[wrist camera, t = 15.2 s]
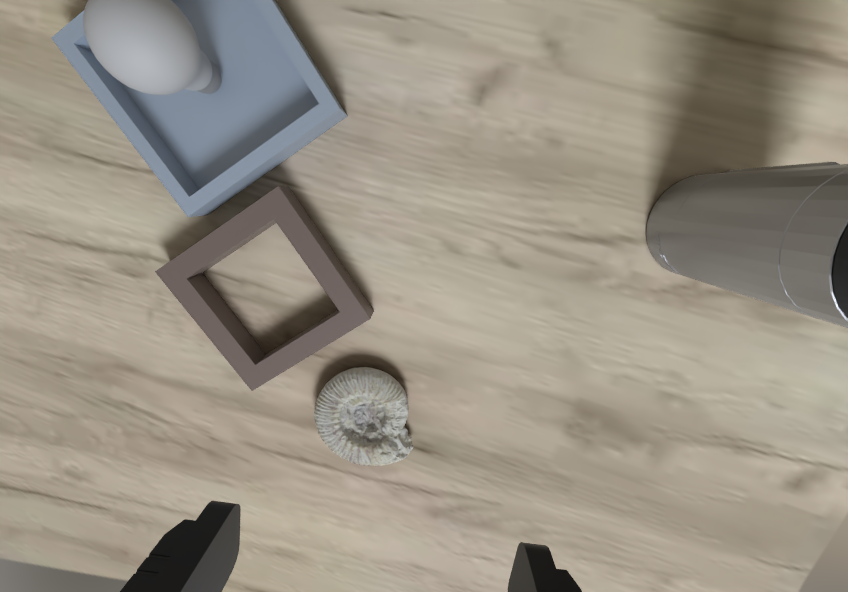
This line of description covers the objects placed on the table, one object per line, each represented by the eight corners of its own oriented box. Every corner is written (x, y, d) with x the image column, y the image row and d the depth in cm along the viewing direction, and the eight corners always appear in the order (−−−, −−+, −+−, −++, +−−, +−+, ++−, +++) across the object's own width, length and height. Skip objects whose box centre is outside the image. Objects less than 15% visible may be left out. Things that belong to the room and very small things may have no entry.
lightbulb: (173, 36, 32) (46, -49, 21) (247, 43, 32) (158, -38, 21) (177, 116, 33) (60, 74, 23) (248, 122, 34) (165, 83, 23)
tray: (231, -71, 31) (210, -98, 28) (347, 116, 34) (340, 108, 31) (84, 51, 33) (51, 37, 30) (207, 215, 36) (187, 216, 33)
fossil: (433, 456, 38) (350, 489, 41) (436, 431, 42) (360, 463, 44) (372, 365, 36) (288, 407, 38) (381, 347, 39) (303, 386, 42)
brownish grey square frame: (288, 186, 36) (278, 186, 33) (373, 311, 38) (370, 318, 36) (172, 266, 38) (155, 271, 35) (262, 379, 40) (251, 391, 38)
